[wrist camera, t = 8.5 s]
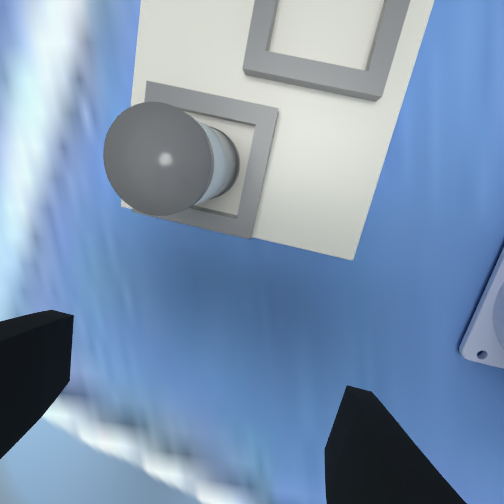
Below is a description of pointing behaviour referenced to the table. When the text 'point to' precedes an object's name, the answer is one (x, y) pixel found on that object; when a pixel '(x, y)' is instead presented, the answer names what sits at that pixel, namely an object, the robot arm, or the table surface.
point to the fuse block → (286, 105)
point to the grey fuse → (167, 159)
